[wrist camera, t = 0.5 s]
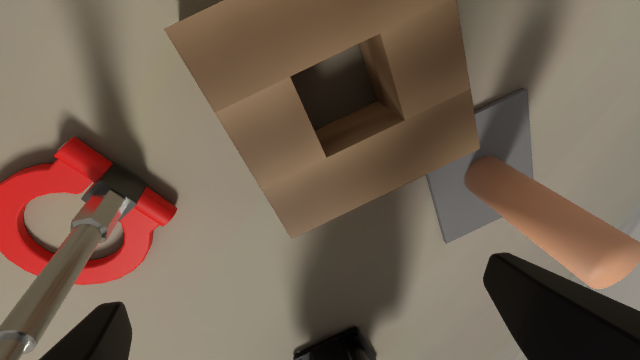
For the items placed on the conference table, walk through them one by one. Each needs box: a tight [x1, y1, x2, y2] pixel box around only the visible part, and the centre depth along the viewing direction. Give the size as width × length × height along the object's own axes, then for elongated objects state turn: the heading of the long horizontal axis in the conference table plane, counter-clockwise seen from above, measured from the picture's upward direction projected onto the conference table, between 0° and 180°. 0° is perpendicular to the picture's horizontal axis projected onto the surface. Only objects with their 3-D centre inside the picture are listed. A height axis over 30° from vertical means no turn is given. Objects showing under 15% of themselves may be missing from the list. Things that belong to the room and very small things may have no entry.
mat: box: [426, 88, 533, 244], centre depth 25 cm, size 10×8×1 cm
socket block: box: [164, 0, 480, 239], centre depth 18 cm, size 12×12×4 cm
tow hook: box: [0, 137, 177, 360], centre depth 15 cm, size 8×13×9 cm
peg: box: [464, 156, 640, 289], centre depth 20 cm, size 3×3×10 cm
